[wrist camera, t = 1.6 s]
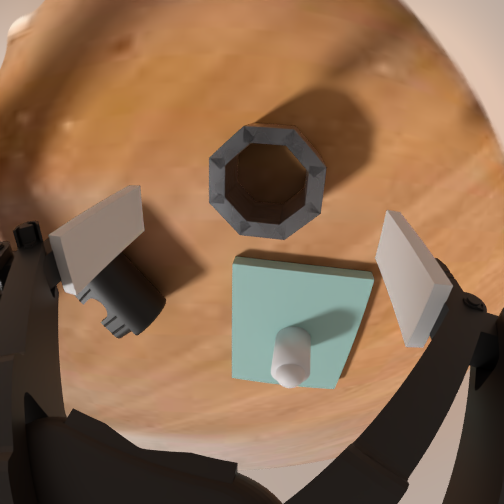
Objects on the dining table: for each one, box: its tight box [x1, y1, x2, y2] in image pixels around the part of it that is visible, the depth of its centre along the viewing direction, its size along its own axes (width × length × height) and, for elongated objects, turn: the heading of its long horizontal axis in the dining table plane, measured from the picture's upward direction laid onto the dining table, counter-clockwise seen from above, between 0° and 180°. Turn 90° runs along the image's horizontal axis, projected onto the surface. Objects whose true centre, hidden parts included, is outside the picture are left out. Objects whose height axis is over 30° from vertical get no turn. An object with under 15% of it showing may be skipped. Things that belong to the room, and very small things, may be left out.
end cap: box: [75, 252, 166, 338], centre depth 30 cm, size 10×7×7 cm
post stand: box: [232, 256, 374, 389], centre depth 30 cm, size 14×18×8 cm
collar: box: [209, 123, 326, 240], centre depth 23 cm, size 8×8×5 cm
